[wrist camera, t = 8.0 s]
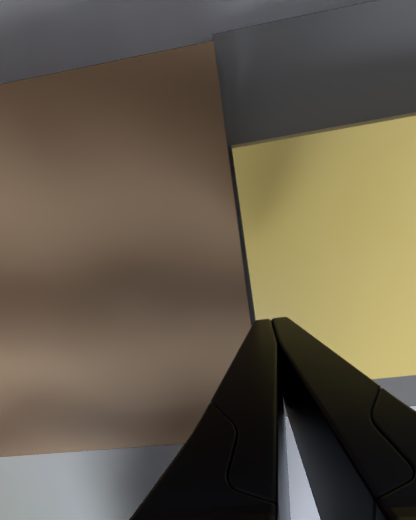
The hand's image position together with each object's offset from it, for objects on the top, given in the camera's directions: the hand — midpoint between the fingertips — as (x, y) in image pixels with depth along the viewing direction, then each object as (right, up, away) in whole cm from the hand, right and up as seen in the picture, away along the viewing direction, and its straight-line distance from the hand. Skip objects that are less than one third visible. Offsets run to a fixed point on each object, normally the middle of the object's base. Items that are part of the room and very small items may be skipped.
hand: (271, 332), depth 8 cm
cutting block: (-7, +1, +6) cm, 9 cm away
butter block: (+3, +2, +3) cm, 5 cm away
